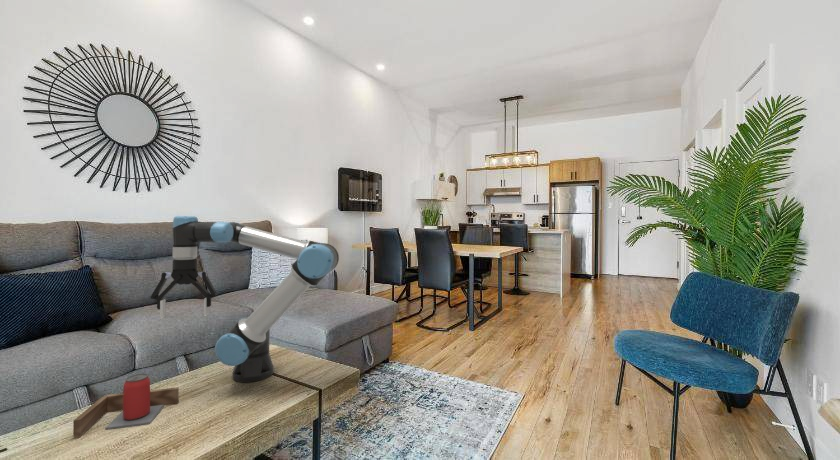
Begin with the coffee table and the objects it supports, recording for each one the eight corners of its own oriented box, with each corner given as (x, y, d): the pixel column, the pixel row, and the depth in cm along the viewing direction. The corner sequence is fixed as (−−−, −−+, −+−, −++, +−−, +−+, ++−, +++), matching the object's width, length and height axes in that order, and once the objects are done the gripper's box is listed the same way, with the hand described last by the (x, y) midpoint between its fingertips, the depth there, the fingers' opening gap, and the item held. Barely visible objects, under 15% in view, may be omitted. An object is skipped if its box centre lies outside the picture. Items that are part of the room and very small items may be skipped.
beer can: (117, 419, 108) (117, 380, 108) (138, 408, 115) (138, 371, 115) (135, 422, 107) (135, 382, 107) (155, 411, 113) (155, 373, 113)
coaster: (163, 406, 118) (163, 404, 118) (149, 424, 107) (149, 422, 107) (123, 411, 114) (123, 409, 114) (105, 429, 104) (105, 427, 104)
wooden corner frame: (178, 401, 121) (178, 387, 121) (160, 426, 106) (160, 409, 106) (104, 410, 115) (104, 395, 115) (73, 438, 100) (73, 420, 100)
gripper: (225, 257, 137) (225, 312, 137) (148, 258, 129) (148, 316, 129) (221, 258, 129) (220, 317, 130) (139, 260, 122) (139, 321, 122)
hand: (184, 317), depth 129 cm, fingers open, 13 cm apart
